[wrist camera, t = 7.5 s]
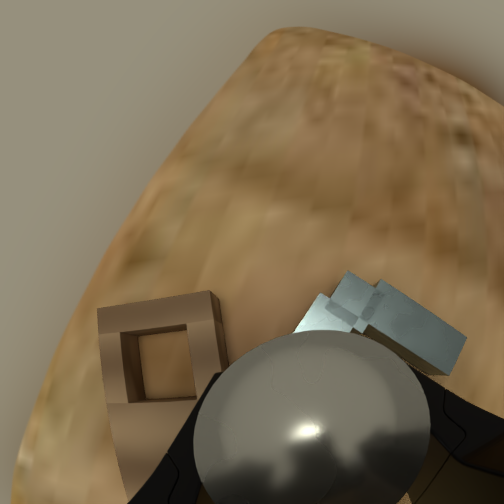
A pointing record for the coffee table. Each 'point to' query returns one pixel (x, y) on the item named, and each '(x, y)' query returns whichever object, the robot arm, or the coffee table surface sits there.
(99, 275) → the coffee table surface
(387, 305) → the v block
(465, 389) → the coffee table surface
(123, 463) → the slotted block
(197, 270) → the coffee table surface
